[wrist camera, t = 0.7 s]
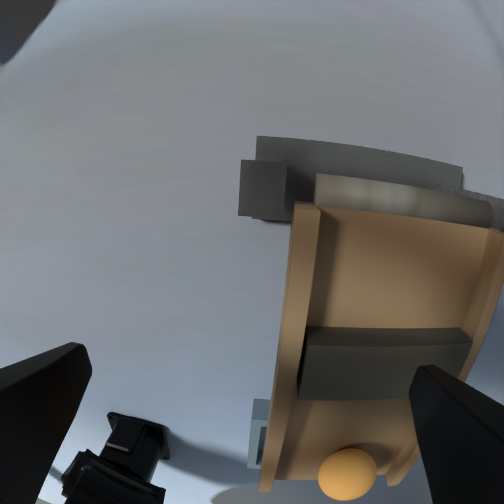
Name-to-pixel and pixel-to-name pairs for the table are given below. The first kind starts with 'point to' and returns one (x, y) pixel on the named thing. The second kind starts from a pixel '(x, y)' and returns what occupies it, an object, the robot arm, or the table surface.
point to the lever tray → (374, 318)
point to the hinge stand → (341, 164)
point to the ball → (347, 474)
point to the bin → (258, 432)
